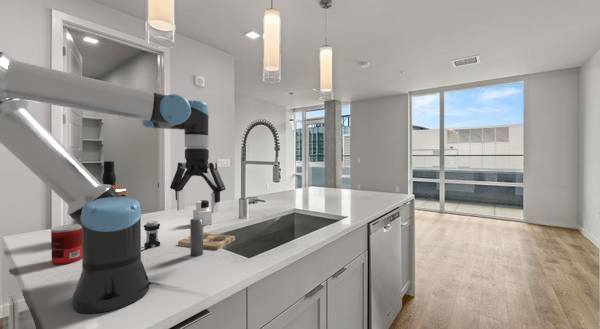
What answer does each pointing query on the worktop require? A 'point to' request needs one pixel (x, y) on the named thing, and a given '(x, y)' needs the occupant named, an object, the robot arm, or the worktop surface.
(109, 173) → the whiskey bottle
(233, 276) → the worktop surface
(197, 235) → the dark grey cylinder
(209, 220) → the medicine bottle
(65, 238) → the canned food
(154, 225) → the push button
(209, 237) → the socket board
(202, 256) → the deck pad
